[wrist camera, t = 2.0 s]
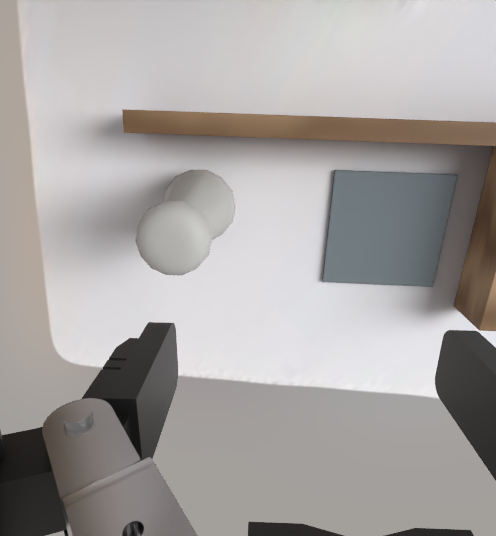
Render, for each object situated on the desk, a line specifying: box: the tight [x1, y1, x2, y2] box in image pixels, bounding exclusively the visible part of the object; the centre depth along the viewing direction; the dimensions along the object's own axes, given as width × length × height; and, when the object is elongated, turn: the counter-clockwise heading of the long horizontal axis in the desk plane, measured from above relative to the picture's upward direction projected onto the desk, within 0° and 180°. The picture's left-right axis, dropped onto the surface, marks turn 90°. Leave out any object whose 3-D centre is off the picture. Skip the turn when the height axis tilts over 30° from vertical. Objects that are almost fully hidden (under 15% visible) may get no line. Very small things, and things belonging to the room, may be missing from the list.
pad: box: [323, 170, 457, 287], centre depth 33 cm, size 10×10×1 cm
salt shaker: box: [136, 170, 236, 275], centre depth 27 cm, size 6×6×13 cm
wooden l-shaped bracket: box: [122, 110, 496, 331], centre depth 31 cm, size 16×30×4 cm, turn 88°
